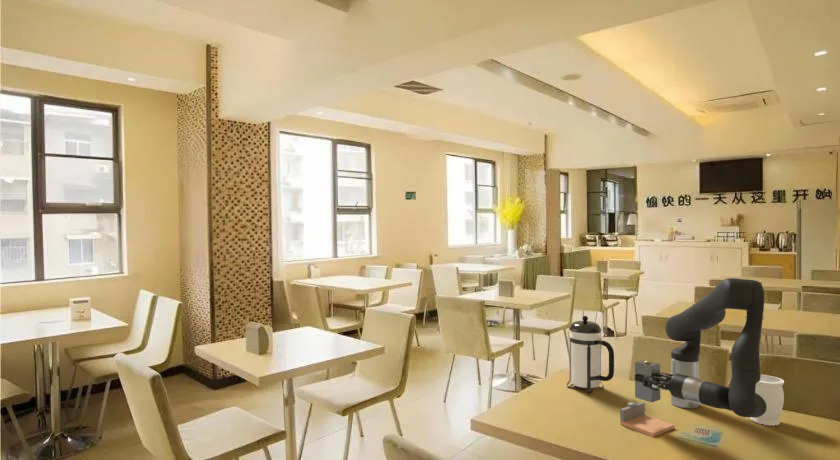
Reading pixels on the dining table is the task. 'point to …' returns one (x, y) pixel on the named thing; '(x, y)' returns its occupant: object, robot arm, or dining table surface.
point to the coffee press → (587, 355)
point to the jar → (770, 399)
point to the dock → (642, 420)
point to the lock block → (647, 370)
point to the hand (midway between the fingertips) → (640, 375)
